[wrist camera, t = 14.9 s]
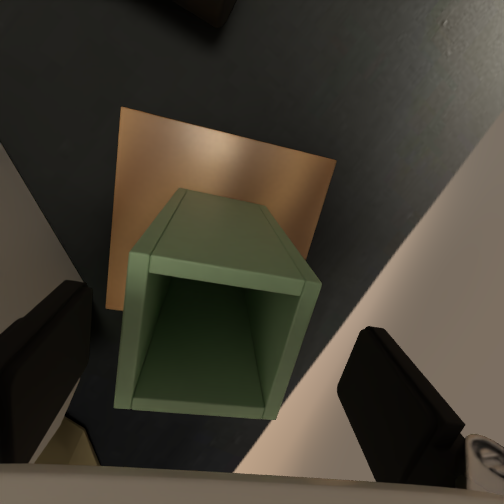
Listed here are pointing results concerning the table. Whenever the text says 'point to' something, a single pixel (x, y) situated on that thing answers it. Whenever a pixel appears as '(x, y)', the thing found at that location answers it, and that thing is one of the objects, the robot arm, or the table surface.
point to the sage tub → (212, 311)
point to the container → (69, 447)
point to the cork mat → (206, 181)
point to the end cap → (209, 10)
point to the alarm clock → (28, 261)
